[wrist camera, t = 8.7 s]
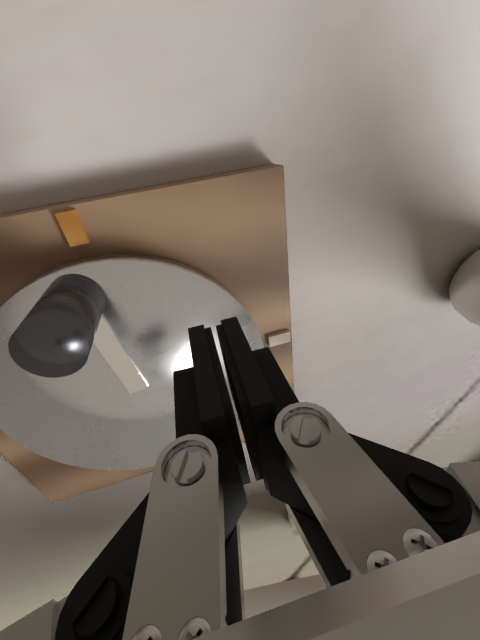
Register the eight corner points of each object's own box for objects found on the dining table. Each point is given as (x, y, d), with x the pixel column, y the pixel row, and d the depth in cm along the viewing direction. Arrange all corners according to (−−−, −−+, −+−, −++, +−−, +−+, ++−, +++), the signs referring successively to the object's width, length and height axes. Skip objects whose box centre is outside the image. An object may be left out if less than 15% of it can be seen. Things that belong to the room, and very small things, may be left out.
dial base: (289, 414, 28) (296, 429, 27) (57, 484, 25) (51, 506, 24) (273, 163, 16) (285, 165, 15) (-173, 246, 13) (-215, 258, 12)
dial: (278, 408, 25) (307, 470, 20) (87, 482, 24) (70, 566, 19) (223, 210, 15) (252, 240, 10) (-102, 319, 14) (-233, 407, 9)
